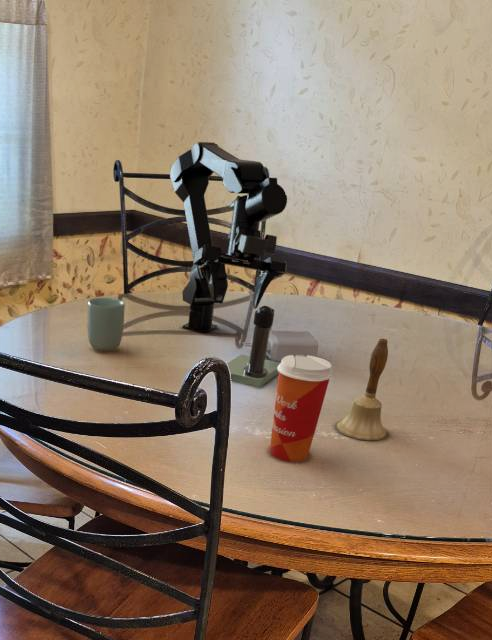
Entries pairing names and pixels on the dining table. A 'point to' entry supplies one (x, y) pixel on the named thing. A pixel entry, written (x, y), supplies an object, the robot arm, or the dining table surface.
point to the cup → (105, 323)
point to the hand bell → (368, 403)
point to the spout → (264, 317)
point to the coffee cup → (298, 405)
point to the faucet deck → (249, 380)
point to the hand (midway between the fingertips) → (234, 304)
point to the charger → (289, 344)
